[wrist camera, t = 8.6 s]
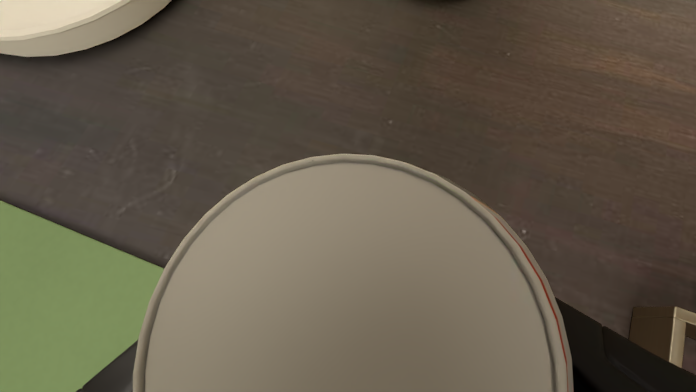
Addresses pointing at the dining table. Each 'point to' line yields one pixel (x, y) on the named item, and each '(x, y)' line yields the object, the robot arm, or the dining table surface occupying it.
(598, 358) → the robot arm
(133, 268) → the green mat
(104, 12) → the pan
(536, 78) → the dining table surface
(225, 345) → the beverage can
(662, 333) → the frame
